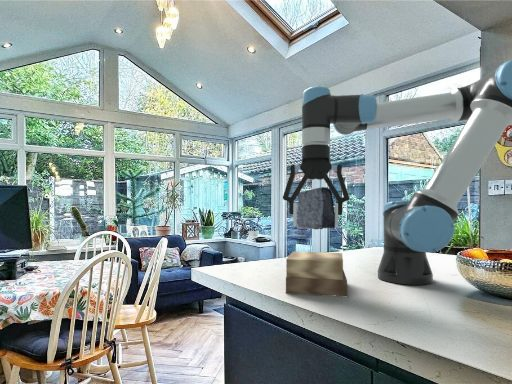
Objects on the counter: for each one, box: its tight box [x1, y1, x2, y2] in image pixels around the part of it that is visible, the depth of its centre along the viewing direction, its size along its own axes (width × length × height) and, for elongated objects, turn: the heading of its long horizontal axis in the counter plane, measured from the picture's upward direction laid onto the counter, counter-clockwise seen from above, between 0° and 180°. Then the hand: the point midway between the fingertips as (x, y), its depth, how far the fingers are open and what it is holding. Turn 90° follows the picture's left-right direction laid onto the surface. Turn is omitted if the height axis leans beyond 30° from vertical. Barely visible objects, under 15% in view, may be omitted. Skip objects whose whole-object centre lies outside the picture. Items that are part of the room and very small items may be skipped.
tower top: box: [285, 251, 344, 280], centre depth 94 cm, size 14×14×4 cm
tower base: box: [285, 269, 348, 297], centre depth 93 cm, size 15×15×4 cm
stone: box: [297, 186, 335, 230], centre depth 94 cm, size 12×10×10 cm
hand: (315, 226), depth 94 cm, fingers closed on stone, 10 cm apart
